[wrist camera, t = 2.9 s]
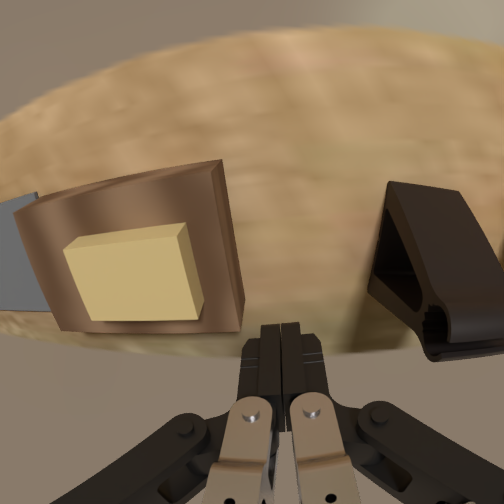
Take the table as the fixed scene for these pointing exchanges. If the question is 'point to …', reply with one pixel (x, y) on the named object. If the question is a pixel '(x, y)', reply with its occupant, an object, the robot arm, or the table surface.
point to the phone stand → (439, 273)
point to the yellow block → (137, 274)
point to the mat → (17, 263)
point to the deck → (133, 217)
